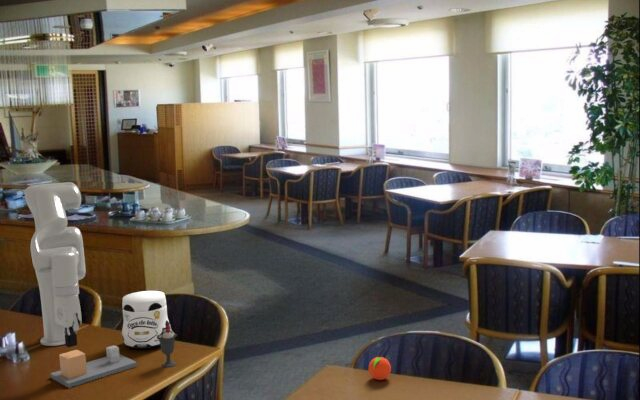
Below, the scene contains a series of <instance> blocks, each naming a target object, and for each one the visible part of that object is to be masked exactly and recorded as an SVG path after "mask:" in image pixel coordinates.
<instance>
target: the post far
mask: <svg viewBox="0 0 640 400" xmlns="http://www.w3.org/2000/svg"><path fill="white" fill-rule="evenodd" d="M105 349H106V357H107V362H109V363H111V364H113V363H117V362H120V357H119V354H120V347H118V346H117V345H114V344H113V345H110V346H107V347H106V348H105Z"/></svg>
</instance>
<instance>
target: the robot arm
mask: <svg viewBox="0 0 640 400" xmlns="http://www.w3.org/2000/svg"><path fill="white" fill-rule="evenodd" d="M24 199H25V202H26V204H27V207H28V208H29V210H30V212H31V214H32V216H33V217H32V218H33V219H34V226H35V227H34V228H35V231H34V233H33V235H32V237H31V241H30V255H31V259H32V265H33V269H34V271H35V275H36V280H37V285H38V289H39V295H40V302H41V303H40V304H41V313H42V314H41V315H42V323H43V324H42V325H43V326H42V327H43V336H42V337H41V338H40V345H42V346H47V347H55V346H56V347H58V346H61V345H62V346H63V345H65V347H67V348H71V347H75V346H78V338H77V334H78V331H79V330H80V327H79V326H81V325H82V323H83V321H82V318H83V317H82V311H81V310H82V309H81V305H80V304H81V303H80V299H79V298H80V297H79V294H80V287H79V281H81V280H82V279H84V278H85V277H86V273H87V272H86V271H87V270H86V257H85V249H84V241H83V239H84V238H83V235H82V232H81V230H80V228H78V227H77V226H68V224H69V223H68V218H67V213H66V210H73V209H74V210H75V209H79V208H80V207H81V206H82V205H81V204H82V193H81V191H80V189H79V187H78V185H76V184H75V183H74V182H71V181H68V182H54V183H52V182H51V183H41V184H40V183H39V184H34V185H30V186H28V187H27V188H26V189H25V191H24Z"/></svg>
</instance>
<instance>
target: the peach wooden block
mask: <svg viewBox="0 0 640 400" xmlns="http://www.w3.org/2000/svg"><path fill="white" fill-rule="evenodd" d="M86 363H87V358H86V353H84V352H83V351H82V350H81V351H80V350H78V349H74V350H70V351H67V352H63V353H60V354H59V367H60V370H61V374H62V375H63V376H65V377H67V378H69V379H70V378H74V377H77V376H80V375H83V374H86V373H87V367H86Z"/></svg>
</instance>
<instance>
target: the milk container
mask: <svg viewBox="0 0 640 400" xmlns="http://www.w3.org/2000/svg"><path fill="white" fill-rule="evenodd" d="M121 303H122V318H123V322H122V323H123V324H122V329H121V337H122V341H123V343H124V345H126V347H128V348H132V349H141V350H142V349H143V350H144V349H151V348H157V347H159V346H160V341H159V339H157V335H159V334H161V333H162V328H165V327H167V326H170V328H171V329H172V327H171V323H170V320H169V318H168V307H167V298H166V295H165V292H163V291H158V290H142V291H137V292H132V293H128V294H125V295H124V296H123V297H122V302H121ZM169 323H170V324H169ZM168 324H169V325H168Z"/></svg>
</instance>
